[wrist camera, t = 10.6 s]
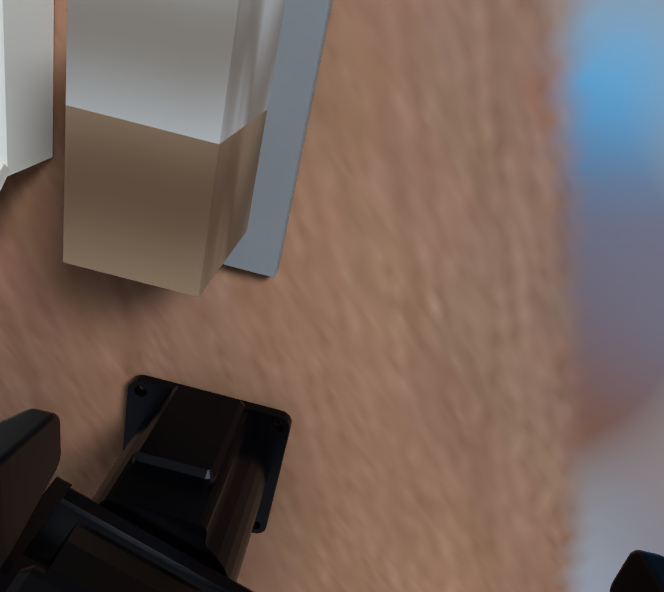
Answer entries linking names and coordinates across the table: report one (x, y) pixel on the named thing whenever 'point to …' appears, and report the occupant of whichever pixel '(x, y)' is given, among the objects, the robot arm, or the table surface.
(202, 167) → the walnut box
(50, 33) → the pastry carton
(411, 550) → the table surface
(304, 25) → the slate mat
